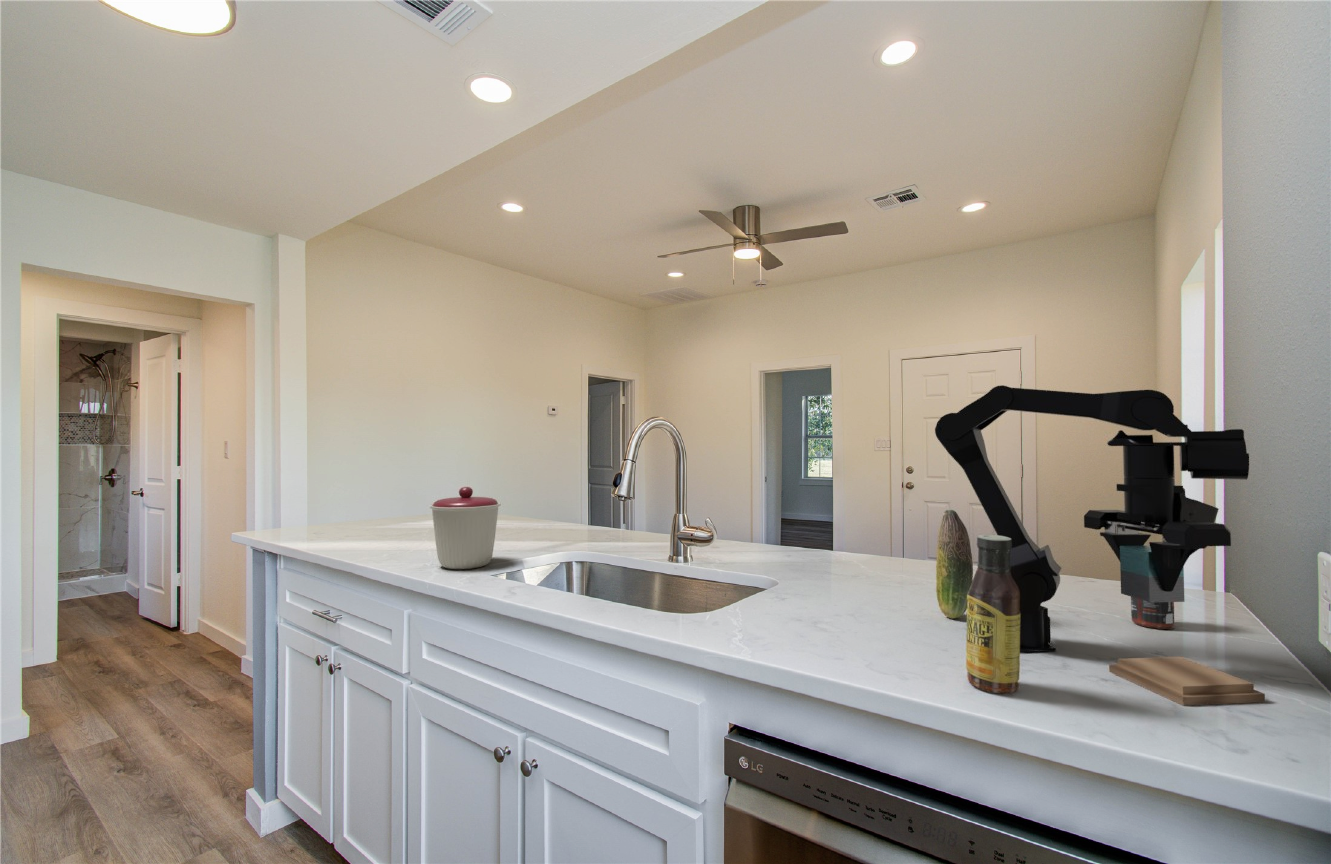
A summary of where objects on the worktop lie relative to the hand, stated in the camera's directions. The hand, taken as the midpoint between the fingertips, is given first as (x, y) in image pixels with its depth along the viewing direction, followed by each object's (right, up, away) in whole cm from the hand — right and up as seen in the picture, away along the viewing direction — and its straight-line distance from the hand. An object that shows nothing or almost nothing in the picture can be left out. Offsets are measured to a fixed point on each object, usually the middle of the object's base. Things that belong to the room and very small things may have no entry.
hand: (1151, 586), depth 86 cm
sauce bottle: (-26, -12, -7) cm, 30 cm away
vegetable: (-16, -12, +25) cm, 32 cm away
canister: (-123, -14, +74) cm, 144 cm away
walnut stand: (-1, -11, -7) cm, 13 cm away
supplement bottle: (+16, -12, +20) cm, 29 cm away
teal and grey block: (0, -2, 0) cm, 2 cm away
